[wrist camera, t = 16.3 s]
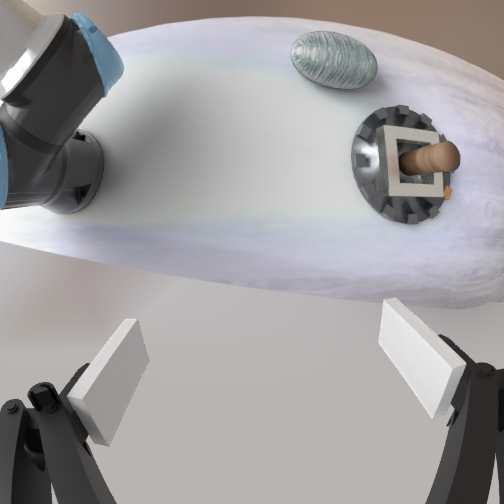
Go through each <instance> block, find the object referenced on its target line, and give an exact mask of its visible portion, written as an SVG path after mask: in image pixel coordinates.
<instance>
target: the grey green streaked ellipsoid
mask: <svg viewBox="0 0 504 504" xmlns="http://www.w3.org/2000/svg"><path fill="white" fill-rule="evenodd" d="M291 60H292V63H293V65H294V66H295V68H296V69H297V70H298V71H299V72H300V73H301V74H302V75H303V76H305V77H306V78H308V79H309V80H311V81H313V82H316V83H318V84H321V85H324V86H328V87H333V88H341V89H355V88H360V87H363V86H365V85H367V84H368V83H370V82H371V81H372V80H373V78H374V77H375V75H376V73H377V62H376V58H375V56H374V55H373V53H372V52H371V51H370V50H369V49H368V48H367V47H366V46H365V45H364V44H362V43H361V42H359V41H357V40H355V39H353V38H350V37H348V36H346V35H342V34H339V33H335V32H327V31H317V32H311V33H308V34H305V35H303V36H302V37H300V38H299V39H297V40H296V42H295V43H294V44H293V46H292V49H291Z"/></svg>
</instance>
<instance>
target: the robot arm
mask: <svg viewBox="0 0 504 504" xmlns="http://www.w3.org/2000/svg"><path fill="white" fill-rule="evenodd" d="M123 70H124V66H123V62H122V59H121V57H120V56H119V54H118V52H117V51H116V49H115V48H114V47H113V45H112V44H111V43H110V41H109V40H108V39H107V38H106V36H105V35H104V34H103V33H102V32H101V31H100V30H99V29H97V27H96V26H95V25H94V23H93V22H92V21H91V20H90V19H89V18H88V17H87V16H86V15H84V14H82V13H76V14H75V15H72V16H71V17H70V18H68V17H67V16H65V15H64V14H63V13H62V12H57V13H53V14H48V15H42V14H40V13H39V12H38V11H36V10H35V9H34V8H32V7H31V6H30V5H28V4H27V3H26V2H24V1H23V0H0V100H2V101H4V102H3V104H2V105H1V107H0V210H3V209H10V208H18V207H27V206H36V205H40V206H42V207H44V208H46V209H48V210H50V211H52V212H55V213H60V214H65V213H73V212H76V211H79V210H81V209H82V208H84V207H85V206H86V205H87V204H88V203H89V202H90V201H91V200H92V199H93V197H94V196H95V194H96V192H97V190H98V188H99V185H100V183H101V179H102V174H103V155H102V151H101V148H100V145H99V143H98V142H97V140H96V139H95V138H94V137H93V136H92V135H91V134H89V133H87V132H85V131H82V130H79V129H77V128H78V126H79V125H80V124H81V123H82V121H83V120H84V119H85V118H86V116H87V115H88V114H89V113H90V112H91V110H92V109H93V108H94V107H95V106H96V104H97V103H98V102H99V101H100V100H101V99H102V98H105V97H106V96H107V94H108V91H109V90H110V89H111V88H112V86H113V85H114V84H115V83H116V82H117V81H118V80H119V79H120V77H121V76H122V74H123ZM378 343H379V345H380V346H381V347H382V349H383V350H384V351H385V353H386V354H387V355H388V357H389V358H390V360H391V361H392V362H393V364H394V365H395V366H396V368H397V369H398V371H399V372H400V373H401V375H402V376H403V378H404V379H405V380H406V382H407V383H408V385H409V386H410V387H411V389H412V390H413V392H414V393H415V395H416V396H417V398H418V399H419V401H420V402H421V403H422V405H423V406H424V408H425V409H426V410H427V412H428V414H429V415H430V417H431V418H432V419H434V418H437V417H439V416H442V415H444V414H446V413H447V411H448V408H449V406H450V404H452V406H453V407H454V408H455V409H454V412H453V414H452V416H451V418H450V420H449V422H448V424H447V426H449V425H450V427H449V431H448V435H447V440H446V443H445V447H444V451H443V454H442V458H441V461H440V464H439V468H438V471H437V474H436V477H435V480H434V483H433V486H432V488H431V491H430V493H429V496H428V498H427V501H426V503H425V504H487V500H488V495H489V490H490V486H491V480H492V475H493V468H494V461H495V453H496V459H497V468H498V479H499V496H500V504H504V369H499V370H496V369H495V368H494V367H493V366H492V365H490V364H488V363H475V362H474V361H473V360H472V359H471V358H469V356H468V355H467V354H466V353H465V352H463V351H462V350H460V348H459V347H458V346H457V345H455V343H454V342H453V341H451V340H450V339H449V338H447V337H445V336H443V335H441V334H440V335H436V334H435V333H434V332H433V331H432V330H431V329H430V328H429V327H428V326H427V325H426V324H425V323H423V322H422V321H421V320H420V319H419V318H418V317H417V316H416V315H415V314H413V313H412V312H411V311H410V310H409V309H407V307H406V306H404V305H403V304H402V303H401V302H400V301H399V300H398V299H396V298H391V299H384V300H383V310H382V319H381V326H380V333H379V340H378ZM148 363H149V358H148V354H147V351H146V347H145V344H144V340H143V337H142V333H141V329H140V326H139V321H138V319H125V320H124V321H123V323H122V324H121V325H120V326H119V328H118V329H117V330H116V331H115V333H114V334H113V335H112V336H111V338H110V339H109V340H108V341H107V343H106V344H105V345H104V347H103V348H102V349H101V351H100V352H99V353H98V354H97V356H96V357H95V358H94V360H93V361H92V362H91V363H86V364H85V365H84V366H82V367H81V368H80V369H78V371H77V372H76V373H75V375H74V377H72V378H71V380H70V382H68V384H67V385H66V386H65V388H64V389H63V390H62V392H61V393H60V394H59V395H58V393H57V391H56V389H55V387H54V386H53V384H51V383H48V382H42V383H38V384H36V385H34V386H33V387H32V388H31V389H30V390H29V392H28V395H27V396H28V398H29V399H30V401H31V403H32V405H33V406H34V408H26V407H25V406H24V404H23V402H22V401H21V400H19V399H12V400H9V401H7V402H6V403H5V404H4V405H3V406H2V408H1V411H0V504H52V493H51V482H52V485H53V489H54V492H55V495H56V498H57V501H58V504H117V503H116V502H115V500H114V498H113V496H112V494H111V492H110V491H109V489H108V487H107V485H106V483H105V481H104V479H103V477H102V475H101V472H100V470H99V469H98V466H97V464H96V461H95V459H94V457H93V455H92V452H91V450H90V447H89V445H88V444H87V443H86V439H87V437H88V435H89V436H90V437H91V439H92V441H93V442H94V443H96V444H100V445H104V446H110V444H111V442H112V439H113V437H114V435H115V433H116V431H117V428H118V426H119V424H120V422H121V420H122V417H123V415H124V413H125V411H126V408H127V406H128V404H129V402H130V400H131V398H132V395H133V394H134V392H135V389H136V387H137V385H138V383H139V381H140V379H141V377H142V375H143V373H144V371H145V369H146V367H147V365H148Z"/></svg>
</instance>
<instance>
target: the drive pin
mask: <svg viewBox="0 0 504 504" xmlns="http://www.w3.org/2000/svg"><path fill="white" fill-rule="evenodd" d="M398 164H399V169H400V171H401V172H402V173H403V174H404V175H406V176H413V175H421V174H429V173H438V172H447V171H455V170H456V169H458V167H459V165H460V154H459V151H458V149H457V147H456V146H455V145H454V144H453V143H452V142H450V141H445V142H441V143H437V144H434V145H430V146H426V147H422V148H419V149H415V150H412V151H408V152H405V153H402V154H401V155H400V156H399V158H398Z"/></svg>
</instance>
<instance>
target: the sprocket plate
mask: <svg viewBox="0 0 504 504" xmlns="http://www.w3.org/2000/svg"><path fill="white" fill-rule="evenodd" d="M431 122H432V120H431V119H430V118H429V117H428V116H426V115H425V114H424V113H423V114H421V115H419V114H417V113H416V112H414V111H411V110H409V107H408V106H403V105H397V106H396V107H388V108H381V109H379V110H377V111H375V112H374V113H372V114H371V115H370V116H369V117H367V118H366V119H365V120H364V121H363V123H362V124H361V125H360V127H359V128H358V130H357V132H356V135H355V137H354V141H353V145H352V153H351V157H352V169H353V173H354V177H355V180H356V183H357V185H358V187H359V189H360V191H361V193H362V195H363V196H364V198H365V200H366V201H367V202H368V203H369V204H370V206H371V207H372V208H373V209H375V210H376V211H377V212H378V213H380V214H381V215H382V216H384V217H386V218H388V219H390V220H393V221H396V222H401V223H406V224H418V222H420V221H423V220H425V219H427V218H433V217H435V216H436V215H437V214H438V213H439V210H438V209H439V207H440V206H441V205H442V203H443V201H444V199H446V200H449V197H450V195H451V192H452V189H450V188H449V183H450V173H454V171H447V172H438V173H429V174H421V175H413V176H406V175H404V174H403V173H402V172H401V171H400V169H399V164H398V158H399V156H400V155H401V154H402V153H405V152H408V151H412V150H415V149H419V148H422V147H426V146H430V145H434V144H437V143H441V142H445V141H447V140H446V138H445V136H444V134H442V135H439V134H438V132H437V131H436V130H435V128H434V127H433V126H432V125H431Z"/></svg>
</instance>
